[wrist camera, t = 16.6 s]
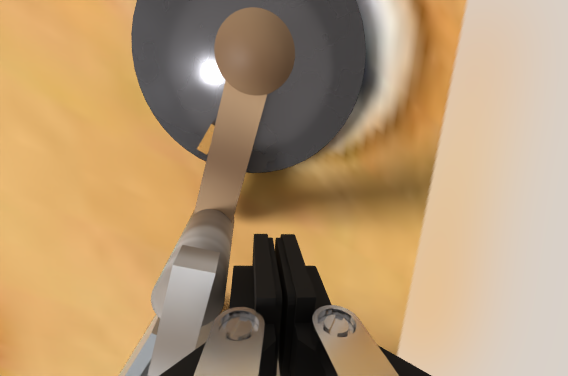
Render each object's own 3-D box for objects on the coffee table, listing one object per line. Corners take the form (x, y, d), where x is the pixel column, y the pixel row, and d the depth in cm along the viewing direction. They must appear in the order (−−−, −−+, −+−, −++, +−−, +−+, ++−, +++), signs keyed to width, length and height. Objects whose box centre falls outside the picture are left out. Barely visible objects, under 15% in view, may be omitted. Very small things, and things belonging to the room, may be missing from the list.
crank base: (284, 200, 18) (288, 209, 17) (104, 96, 16) (89, 95, 14) (395, 33, 16) (410, 26, 15) (211, -124, 13) (206, -153, 12)
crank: (228, 7, 13) (198, -135, 5) (298, 34, 14) (362, -58, 6) (175, 242, 16) (106, 370, 8) (235, 255, 17) (223, 384, 9)
